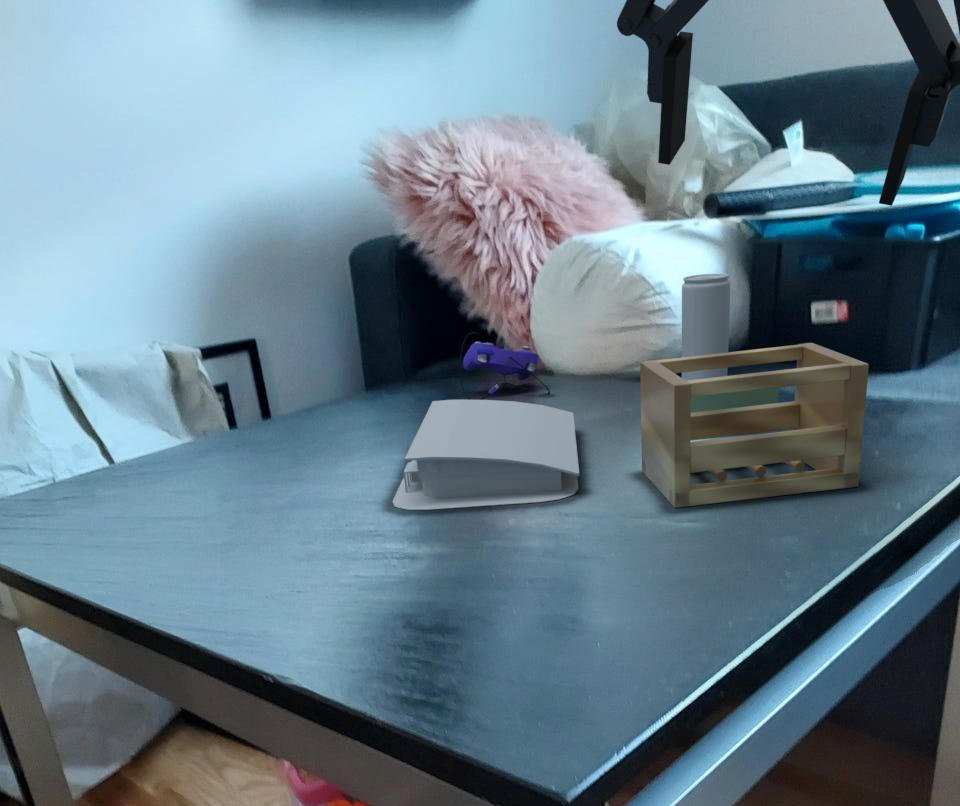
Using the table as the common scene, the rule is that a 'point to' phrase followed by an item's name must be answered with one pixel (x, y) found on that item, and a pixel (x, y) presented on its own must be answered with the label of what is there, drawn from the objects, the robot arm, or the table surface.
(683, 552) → the table surface
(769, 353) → the rack
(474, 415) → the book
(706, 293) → the beverage can
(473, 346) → the game controller
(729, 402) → the stop rail
